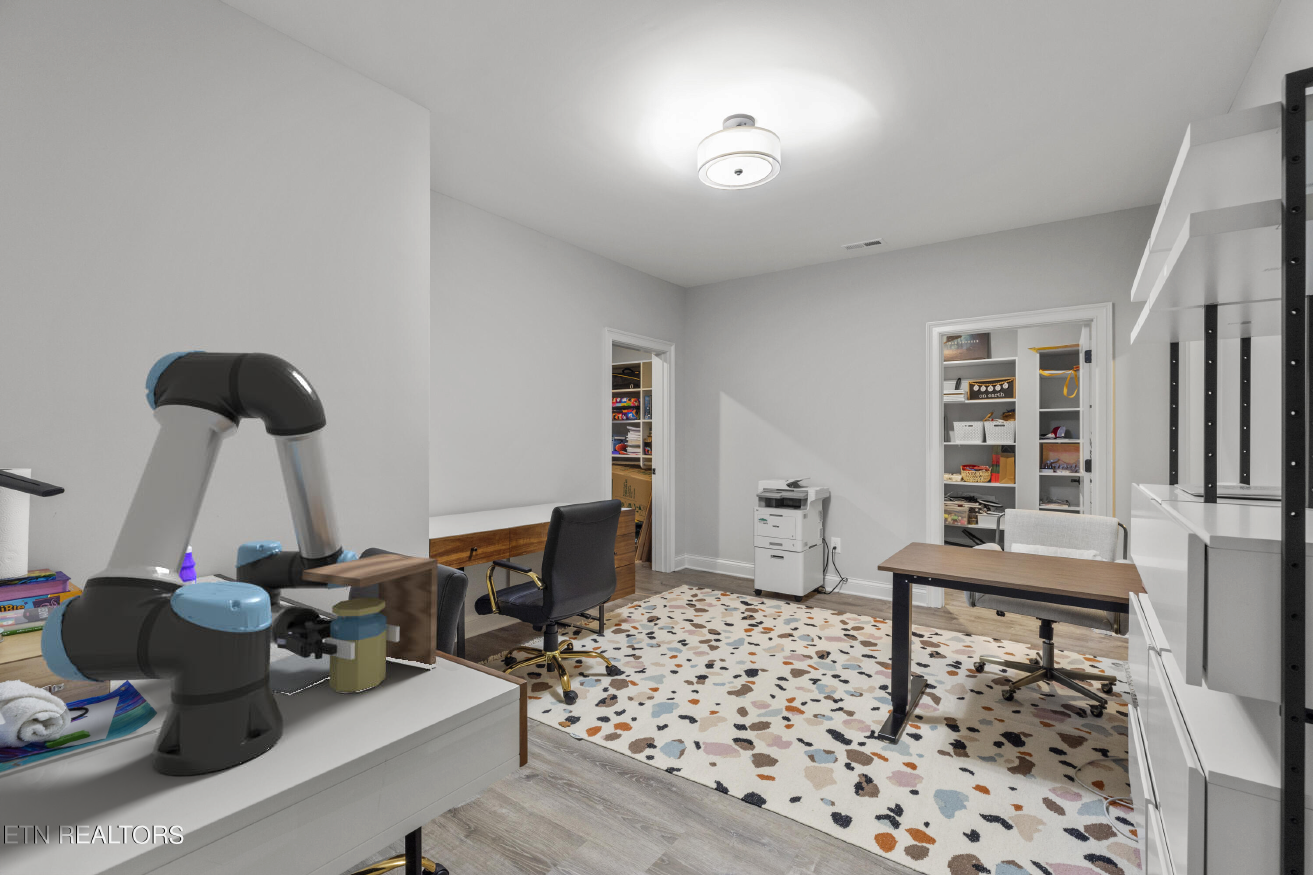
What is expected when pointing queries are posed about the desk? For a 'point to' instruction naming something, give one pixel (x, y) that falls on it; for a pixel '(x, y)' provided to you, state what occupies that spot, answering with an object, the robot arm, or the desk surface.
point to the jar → (359, 644)
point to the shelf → (395, 598)
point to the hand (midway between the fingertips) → (376, 642)
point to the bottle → (188, 569)
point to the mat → (298, 672)
